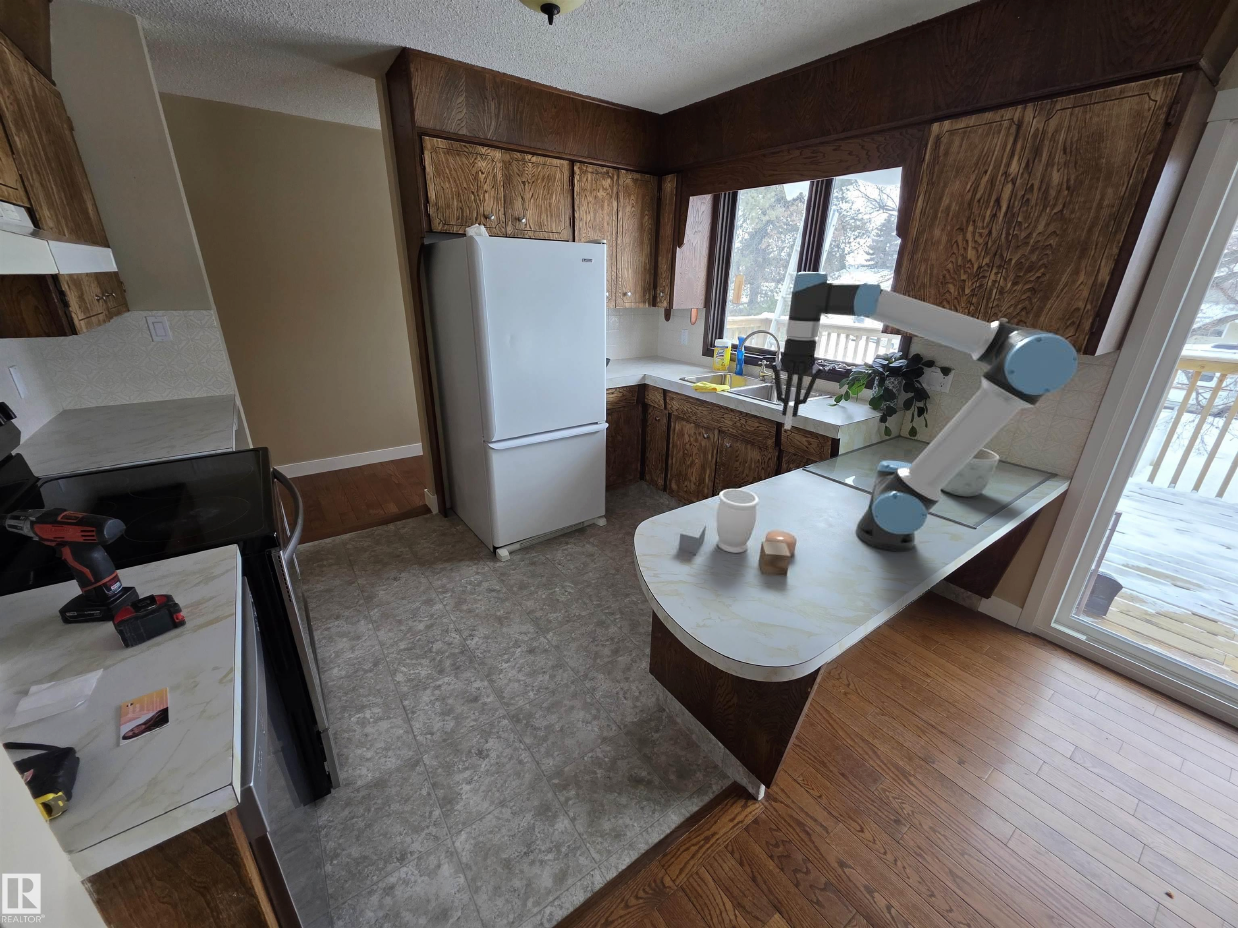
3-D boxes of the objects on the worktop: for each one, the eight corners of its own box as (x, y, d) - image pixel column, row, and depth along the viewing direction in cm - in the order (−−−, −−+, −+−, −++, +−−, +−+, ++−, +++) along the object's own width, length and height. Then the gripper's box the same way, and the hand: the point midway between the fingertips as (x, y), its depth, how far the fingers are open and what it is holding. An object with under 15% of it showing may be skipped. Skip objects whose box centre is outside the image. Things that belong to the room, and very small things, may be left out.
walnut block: (782, 562, 131) (785, 543, 129) (786, 576, 125) (790, 555, 123) (758, 561, 131) (761, 541, 129) (762, 574, 126) (765, 553, 123)
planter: (977, 506, 167) (991, 464, 161) (922, 489, 179) (934, 449, 173) (991, 493, 178) (1005, 453, 172) (939, 478, 189) (950, 440, 184)
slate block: (704, 540, 140) (706, 524, 138) (696, 554, 134) (698, 537, 132) (687, 536, 142) (688, 520, 140) (678, 549, 135) (680, 533, 133)
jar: (752, 558, 132) (760, 507, 127) (712, 552, 134) (718, 502, 128) (750, 538, 142) (757, 490, 136) (713, 533, 144) (719, 486, 138)
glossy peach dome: (796, 547, 138) (798, 534, 137) (792, 561, 132) (794, 548, 130) (766, 540, 142) (768, 527, 140) (761, 553, 135) (763, 540, 133)
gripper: (830, 338, 126) (814, 427, 135) (776, 334, 131) (765, 420, 140) (828, 341, 120) (812, 435, 128) (772, 337, 125) (760, 427, 133)
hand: (787, 427), depth 134 cm, fingers closed
